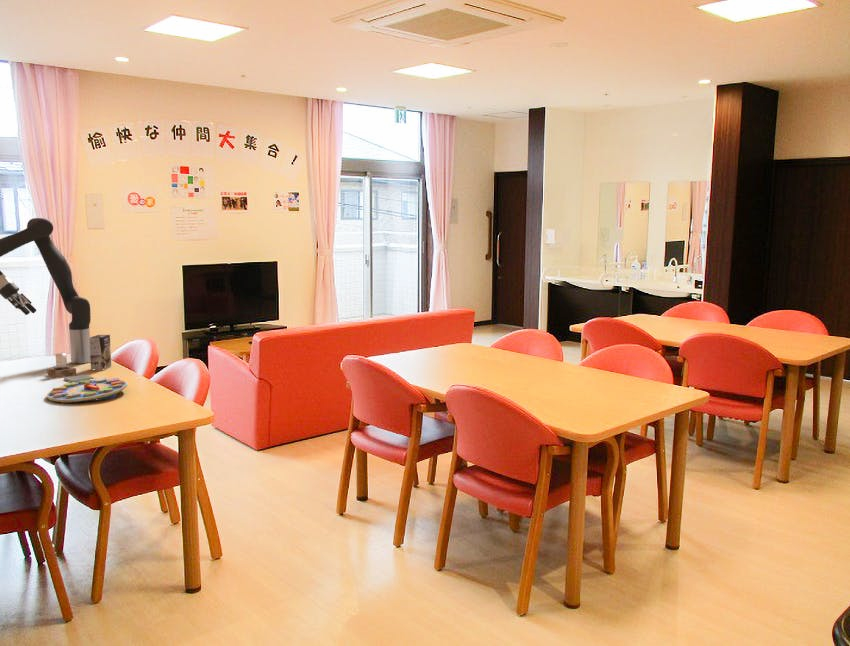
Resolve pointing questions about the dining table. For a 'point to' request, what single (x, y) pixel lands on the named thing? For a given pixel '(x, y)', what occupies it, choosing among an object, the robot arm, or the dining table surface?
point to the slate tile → (78, 378)
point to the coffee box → (100, 352)
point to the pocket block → (61, 372)
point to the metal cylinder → (61, 361)
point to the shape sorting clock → (87, 390)
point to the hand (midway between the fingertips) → (31, 312)
